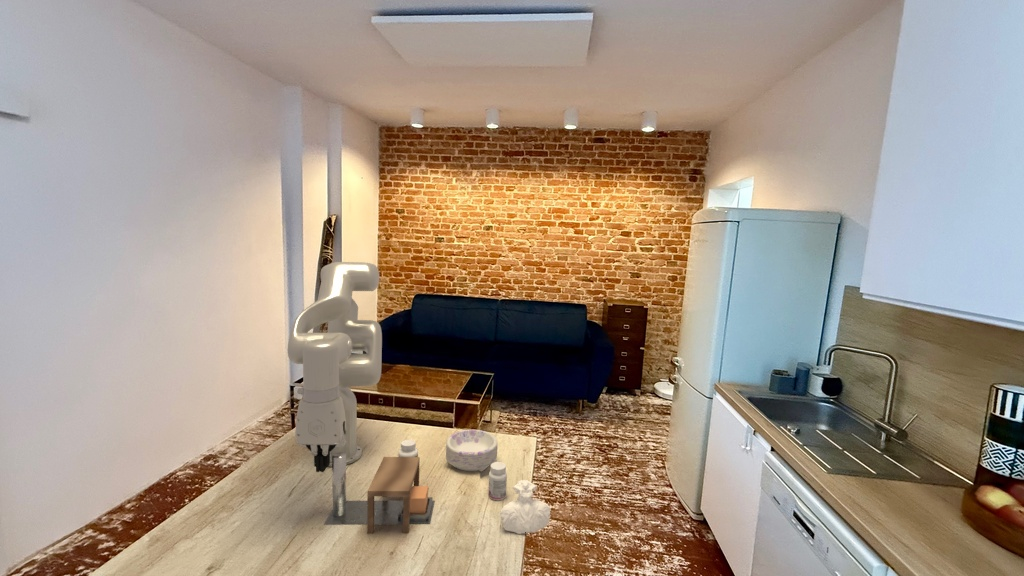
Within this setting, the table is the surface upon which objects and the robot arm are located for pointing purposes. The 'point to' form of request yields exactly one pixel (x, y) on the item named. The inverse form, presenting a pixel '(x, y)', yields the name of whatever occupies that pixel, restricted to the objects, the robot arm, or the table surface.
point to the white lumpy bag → (525, 511)
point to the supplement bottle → (408, 449)
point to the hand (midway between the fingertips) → (322, 468)
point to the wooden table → (393, 485)
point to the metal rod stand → (365, 503)
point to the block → (418, 499)
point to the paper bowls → (471, 450)
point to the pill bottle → (497, 481)
